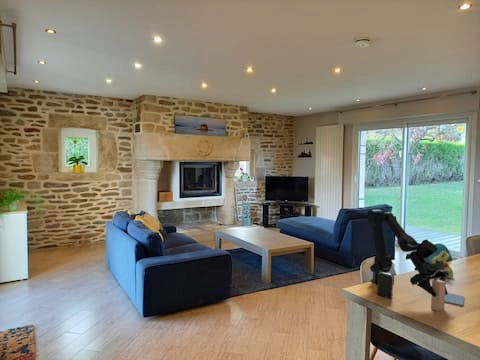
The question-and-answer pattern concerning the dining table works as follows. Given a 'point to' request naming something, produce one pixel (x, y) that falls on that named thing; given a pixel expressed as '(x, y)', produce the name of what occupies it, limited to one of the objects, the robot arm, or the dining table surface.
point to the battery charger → (385, 284)
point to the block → (438, 295)
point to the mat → (454, 299)
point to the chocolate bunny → (443, 257)
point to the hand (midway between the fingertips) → (441, 295)
